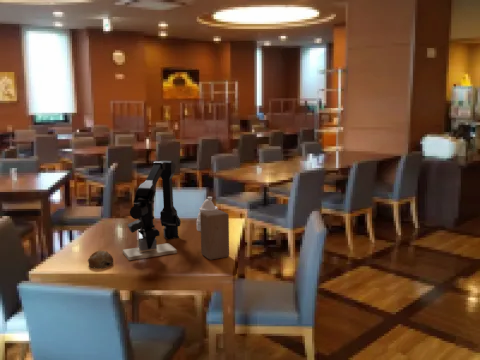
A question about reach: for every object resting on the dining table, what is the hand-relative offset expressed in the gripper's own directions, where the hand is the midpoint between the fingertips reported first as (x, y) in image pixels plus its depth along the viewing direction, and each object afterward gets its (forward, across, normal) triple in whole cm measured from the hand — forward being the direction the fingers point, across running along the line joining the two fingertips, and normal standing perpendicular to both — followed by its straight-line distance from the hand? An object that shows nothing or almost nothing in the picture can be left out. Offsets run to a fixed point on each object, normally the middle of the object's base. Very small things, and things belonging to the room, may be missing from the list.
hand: (147, 247), depth 218 cm
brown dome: (+3, +5, -22) cm, 23 cm away
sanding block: (+1, 0, 0) cm, 1 cm away
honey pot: (+3, -26, +41) cm, 49 cm away
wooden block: (+3, +18, +26) cm, 32 cm away
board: (+3, 0, +1) cm, 3 cm away
